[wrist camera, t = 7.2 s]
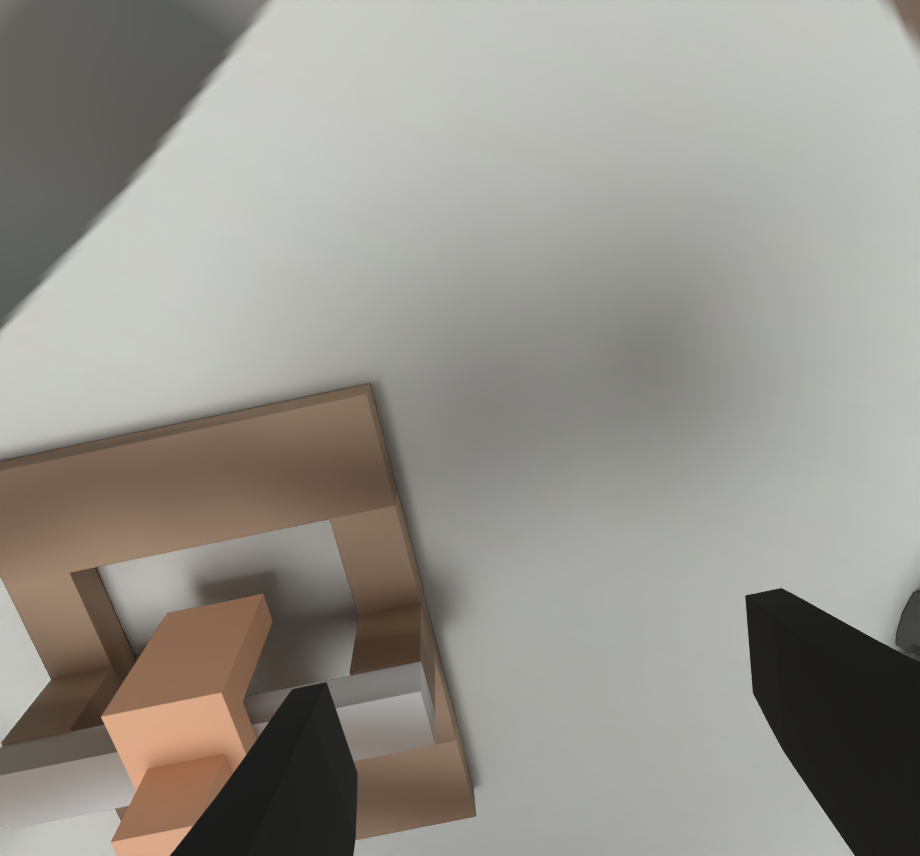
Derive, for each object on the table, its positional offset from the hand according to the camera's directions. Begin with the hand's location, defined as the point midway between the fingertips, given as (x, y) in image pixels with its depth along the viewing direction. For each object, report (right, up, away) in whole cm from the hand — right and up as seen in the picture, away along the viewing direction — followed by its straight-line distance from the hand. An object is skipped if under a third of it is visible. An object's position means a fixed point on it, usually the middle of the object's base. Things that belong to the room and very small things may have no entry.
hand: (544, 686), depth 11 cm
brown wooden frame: (-8, -3, +11) cm, 14 cm away
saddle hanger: (-8, -3, +10) cm, 13 cm away
